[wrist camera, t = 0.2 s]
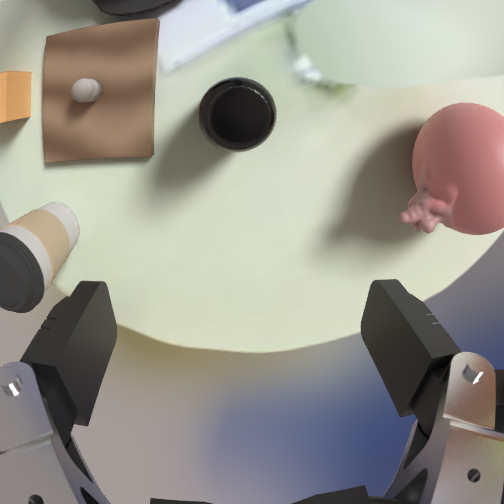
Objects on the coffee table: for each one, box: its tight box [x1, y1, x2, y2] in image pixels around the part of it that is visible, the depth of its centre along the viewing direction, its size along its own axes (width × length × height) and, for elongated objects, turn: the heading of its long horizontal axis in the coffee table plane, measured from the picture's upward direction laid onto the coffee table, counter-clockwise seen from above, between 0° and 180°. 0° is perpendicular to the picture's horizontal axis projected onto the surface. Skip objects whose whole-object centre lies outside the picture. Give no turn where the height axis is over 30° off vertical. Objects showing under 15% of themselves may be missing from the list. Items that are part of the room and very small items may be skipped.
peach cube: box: [0, 71, 31, 123], centre depth 26 cm, size 6×6×6 cm
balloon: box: [398, 103, 504, 235], centre depth 30 cm, size 15×20×15 cm
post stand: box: [43, 18, 160, 163], centre depth 28 cm, size 16×14×6 cm
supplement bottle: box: [198, 77, 277, 152], centre depth 28 cm, size 7×7×12 cm
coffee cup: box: [0, 202, 80, 313], centre depth 30 cm, size 9×9×15 cm
